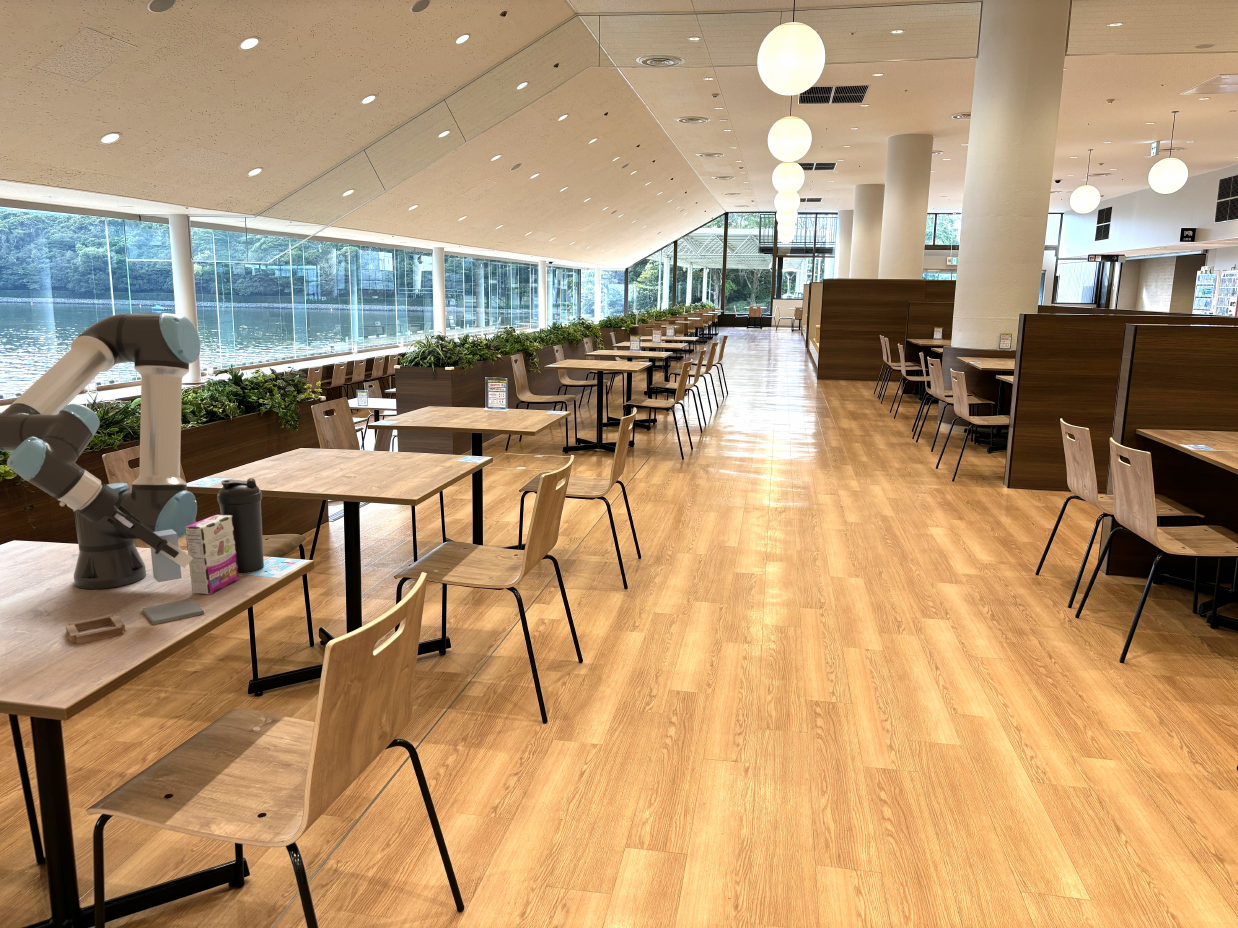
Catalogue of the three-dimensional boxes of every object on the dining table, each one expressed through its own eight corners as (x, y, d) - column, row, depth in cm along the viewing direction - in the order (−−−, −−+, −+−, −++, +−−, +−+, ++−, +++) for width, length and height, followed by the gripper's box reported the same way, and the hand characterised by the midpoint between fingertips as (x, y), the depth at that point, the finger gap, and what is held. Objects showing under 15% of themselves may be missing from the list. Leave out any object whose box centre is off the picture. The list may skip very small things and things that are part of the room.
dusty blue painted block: (153, 577, 186) (149, 532, 184) (176, 573, 189) (171, 529, 187) (158, 582, 183) (153, 536, 181) (181, 578, 186) (177, 533, 184)
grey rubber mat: (142, 611, 189) (142, 608, 189) (191, 601, 195) (191, 597, 195) (153, 624, 181) (152, 621, 181) (204, 613, 188) (203, 610, 187)
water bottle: (224, 565, 221) (216, 477, 217) (267, 560, 225) (260, 474, 221) (223, 576, 212) (215, 485, 208) (268, 571, 216) (260, 482, 212)
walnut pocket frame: (65, 630, 178) (64, 624, 178) (117, 620, 184) (116, 613, 184) (73, 645, 171) (72, 638, 170) (127, 633, 177) (126, 626, 176)
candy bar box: (221, 578, 211) (215, 513, 208) (239, 580, 210) (233, 514, 207) (190, 594, 200) (183, 525, 197) (209, 595, 199) (202, 527, 196)
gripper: (68, 503, 180) (163, 564, 193) (83, 520, 166) (183, 584, 180) (95, 475, 182) (186, 537, 196) (111, 489, 169) (208, 555, 182)
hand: (185, 559), depth 188 cm, fingers closed on dusty blue painted block, 4 cm apart
